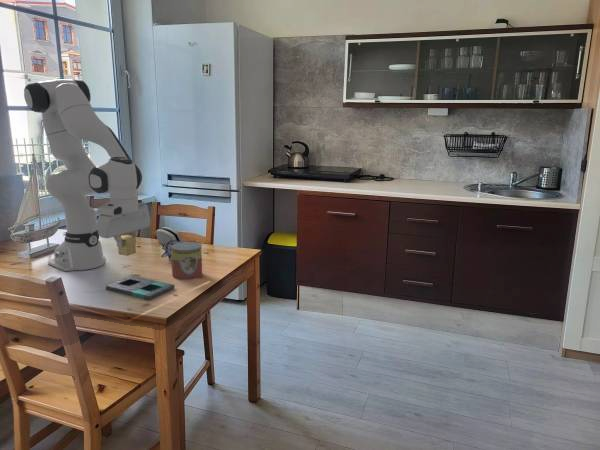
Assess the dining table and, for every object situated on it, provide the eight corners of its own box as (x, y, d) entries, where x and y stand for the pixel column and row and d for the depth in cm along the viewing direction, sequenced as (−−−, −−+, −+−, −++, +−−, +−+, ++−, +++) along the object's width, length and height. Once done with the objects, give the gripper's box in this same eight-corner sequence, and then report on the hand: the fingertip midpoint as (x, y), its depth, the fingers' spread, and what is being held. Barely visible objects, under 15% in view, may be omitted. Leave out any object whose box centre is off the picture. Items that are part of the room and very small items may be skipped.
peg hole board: (106, 290, 160) (105, 285, 160) (132, 280, 170) (132, 275, 170) (149, 301, 151) (149, 296, 151) (174, 290, 162) (174, 284, 161)
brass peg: (118, 254, 159) (117, 237, 158) (127, 251, 163) (126, 234, 162) (127, 255, 158) (126, 238, 156) (136, 253, 161) (135, 236, 160)
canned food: (174, 282, 169) (173, 251, 167) (170, 273, 179) (168, 243, 177) (205, 278, 174) (204, 248, 171) (199, 269, 184) (198, 240, 181)
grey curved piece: (187, 247, 214) (180, 229, 209) (179, 252, 211) (172, 234, 207) (167, 240, 225) (160, 223, 220) (159, 245, 222) (152, 228, 217)
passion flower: (177, 275, 193) (160, 256, 186) (169, 263, 201) (153, 245, 194) (198, 258, 195) (183, 239, 188) (190, 247, 204) (175, 229, 196)
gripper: (140, 200, 167) (142, 237, 170) (93, 209, 149) (96, 250, 152) (153, 202, 164) (155, 239, 167) (107, 211, 146) (109, 253, 149)
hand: (126, 244), depth 160 cm, fingers closed on brass peg, 4 cm apart
